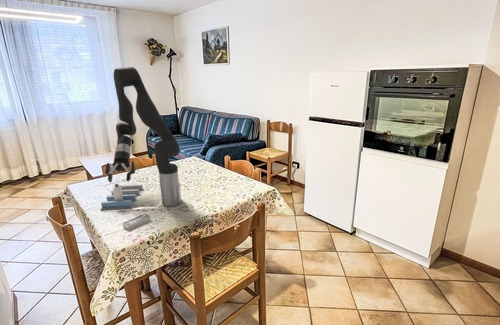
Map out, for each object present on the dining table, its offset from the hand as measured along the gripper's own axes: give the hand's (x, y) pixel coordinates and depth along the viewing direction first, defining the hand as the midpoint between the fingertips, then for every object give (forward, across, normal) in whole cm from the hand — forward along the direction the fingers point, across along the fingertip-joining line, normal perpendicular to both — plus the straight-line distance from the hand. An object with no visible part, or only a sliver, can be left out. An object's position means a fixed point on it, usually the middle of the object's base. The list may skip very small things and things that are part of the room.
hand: (118, 181), depth 138 cm
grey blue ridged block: (+6, 0, +10) cm, 12 cm away
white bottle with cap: (+10, 0, +5) cm, 11 cm away
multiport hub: (+26, +14, -9) cm, 30 cm away
